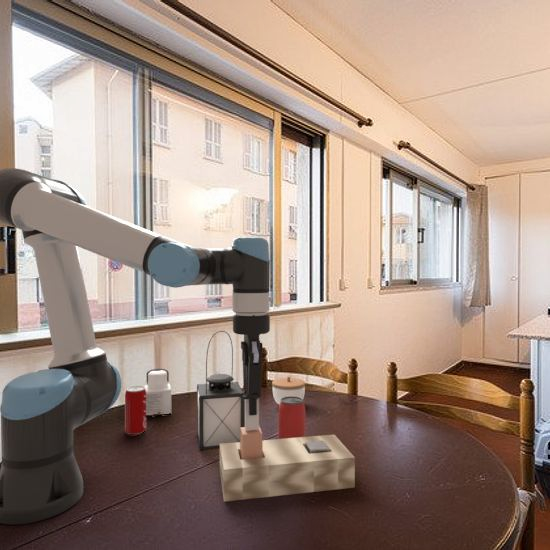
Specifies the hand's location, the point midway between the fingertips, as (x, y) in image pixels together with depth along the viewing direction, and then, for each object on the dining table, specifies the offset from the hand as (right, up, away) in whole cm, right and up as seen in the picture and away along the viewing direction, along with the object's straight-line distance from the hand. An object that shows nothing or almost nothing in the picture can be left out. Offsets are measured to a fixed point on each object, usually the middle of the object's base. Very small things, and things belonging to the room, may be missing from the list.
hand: (251, 429), depth 84 cm
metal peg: (+14, -10, +3) cm, 17 cm away
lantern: (-9, -11, +22) cm, 26 cm away
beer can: (+9, -11, +16) cm, 22 cm away
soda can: (-33, -11, +27) cm, 44 cm away
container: (-31, -11, +43) cm, 54 cm away
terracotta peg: (0, -6, 0) cm, 6 cm away
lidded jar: (+9, -11, +49) cm, 51 cm away
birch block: (+7, -11, +1) cm, 13 cm away
